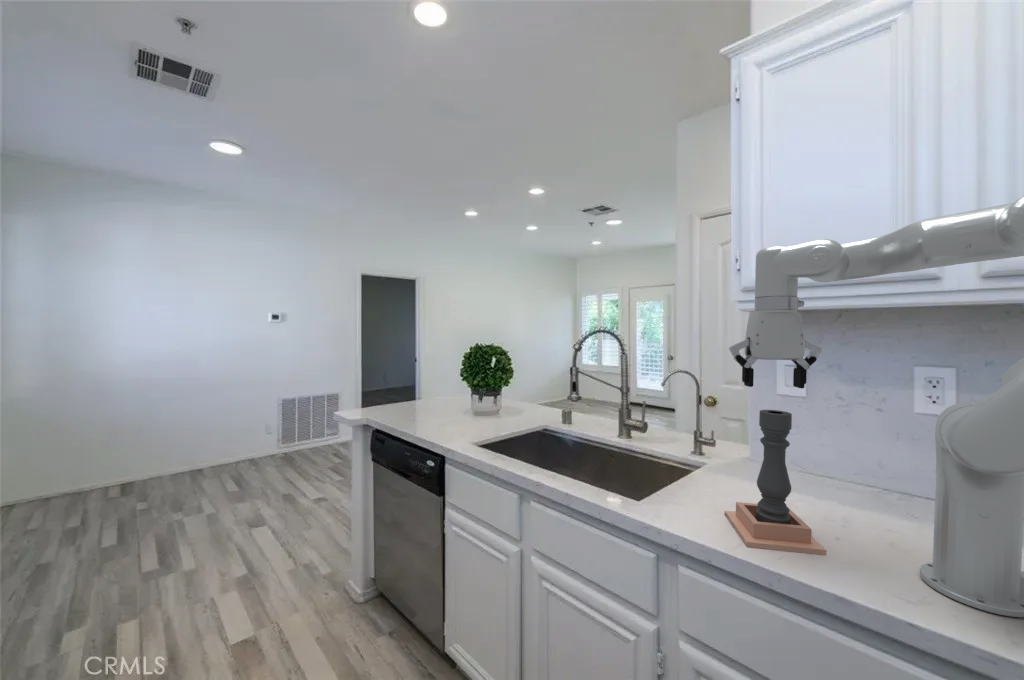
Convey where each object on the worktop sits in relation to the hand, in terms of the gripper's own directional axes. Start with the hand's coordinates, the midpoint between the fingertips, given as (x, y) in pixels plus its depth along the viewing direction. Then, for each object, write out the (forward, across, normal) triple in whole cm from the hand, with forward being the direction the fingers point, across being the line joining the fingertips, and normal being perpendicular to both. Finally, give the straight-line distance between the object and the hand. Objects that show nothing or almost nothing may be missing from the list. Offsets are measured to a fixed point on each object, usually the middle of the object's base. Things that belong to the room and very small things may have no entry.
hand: (773, 386), depth 85 cm
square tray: (+31, 0, +1) cm, 31 cm away
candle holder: (+31, 0, +1) cm, 31 cm away
